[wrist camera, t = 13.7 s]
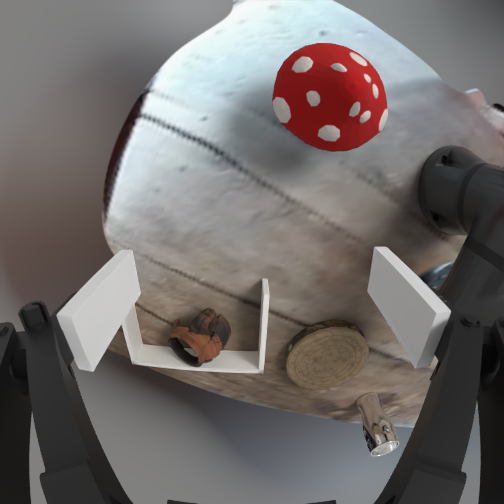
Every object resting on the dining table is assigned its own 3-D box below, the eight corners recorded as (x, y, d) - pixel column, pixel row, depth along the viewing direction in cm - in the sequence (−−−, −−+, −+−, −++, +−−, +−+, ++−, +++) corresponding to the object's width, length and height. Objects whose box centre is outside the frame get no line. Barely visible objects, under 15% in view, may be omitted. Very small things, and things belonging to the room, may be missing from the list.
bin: (267, 278, 46) (269, 294, 41) (262, 354, 52) (263, 373, 47) (124, 273, 45) (113, 287, 41) (139, 346, 51) (132, 363, 47)
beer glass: (369, 388, 57) (388, 438, 43) (386, 394, 58) (405, 441, 45) (348, 405, 59) (363, 455, 45) (365, 411, 61) (381, 458, 47)
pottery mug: (230, 349, 52) (205, 379, 46) (190, 323, 55) (162, 349, 49) (242, 308, 45) (212, 341, 39) (194, 279, 48) (161, 306, 41)
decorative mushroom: (380, 92, 35) (437, 79, 21) (339, 168, 39) (383, 185, 25) (297, 41, 32) (322, -2, 18) (252, 119, 37) (254, 107, 23)
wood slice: (378, 326, 50) (383, 335, 48) (342, 382, 56) (345, 392, 53) (302, 311, 49) (305, 321, 46) (273, 373, 54) (274, 384, 52)
